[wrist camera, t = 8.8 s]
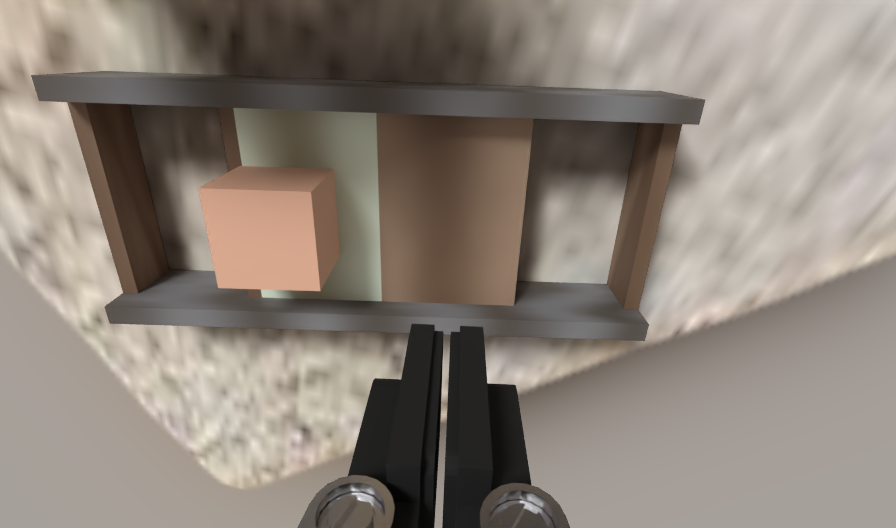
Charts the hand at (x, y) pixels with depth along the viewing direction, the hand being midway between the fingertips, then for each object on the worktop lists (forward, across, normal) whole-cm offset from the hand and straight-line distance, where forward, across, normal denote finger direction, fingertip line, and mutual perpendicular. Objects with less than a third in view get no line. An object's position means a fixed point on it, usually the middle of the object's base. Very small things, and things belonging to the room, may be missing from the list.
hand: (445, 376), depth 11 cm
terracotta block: (+13, +8, +1) cm, 15 cm away
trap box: (+16, +4, +1) cm, 17 cm away
